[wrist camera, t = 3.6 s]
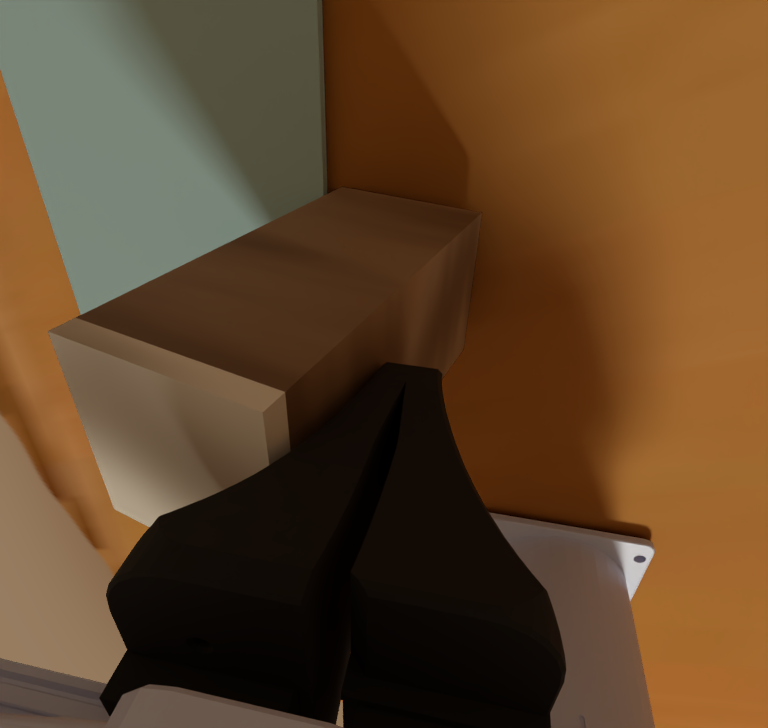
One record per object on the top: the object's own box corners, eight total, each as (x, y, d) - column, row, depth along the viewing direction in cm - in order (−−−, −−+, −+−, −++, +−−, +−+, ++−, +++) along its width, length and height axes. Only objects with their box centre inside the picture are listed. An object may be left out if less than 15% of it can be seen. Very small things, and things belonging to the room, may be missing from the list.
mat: (333, 403, 24) (330, 410, 23) (107, 369, 25) (100, 375, 25) (320, -55, 15) (315, -56, 14) (-30, -63, 16) (-44, -65, 16)
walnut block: (463, 349, 19) (285, 598, 11) (343, 314, 21) (114, 508, 13) (482, 212, 17) (262, 412, 8) (342, 186, 18) (47, 331, 10)
